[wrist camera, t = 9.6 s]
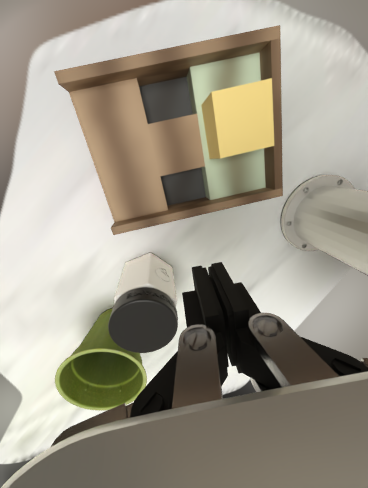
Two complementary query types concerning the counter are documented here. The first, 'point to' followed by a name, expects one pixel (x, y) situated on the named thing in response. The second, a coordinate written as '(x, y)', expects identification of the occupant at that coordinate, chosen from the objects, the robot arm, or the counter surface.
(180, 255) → the counter surface
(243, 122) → the block
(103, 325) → the plant pot
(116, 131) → the wooden tray
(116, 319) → the jar
